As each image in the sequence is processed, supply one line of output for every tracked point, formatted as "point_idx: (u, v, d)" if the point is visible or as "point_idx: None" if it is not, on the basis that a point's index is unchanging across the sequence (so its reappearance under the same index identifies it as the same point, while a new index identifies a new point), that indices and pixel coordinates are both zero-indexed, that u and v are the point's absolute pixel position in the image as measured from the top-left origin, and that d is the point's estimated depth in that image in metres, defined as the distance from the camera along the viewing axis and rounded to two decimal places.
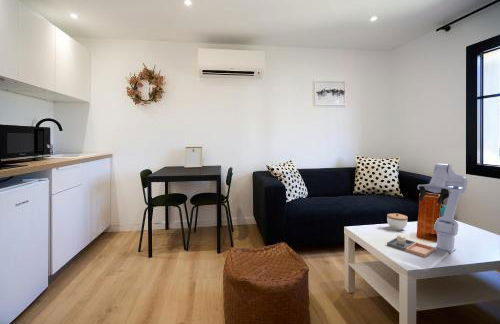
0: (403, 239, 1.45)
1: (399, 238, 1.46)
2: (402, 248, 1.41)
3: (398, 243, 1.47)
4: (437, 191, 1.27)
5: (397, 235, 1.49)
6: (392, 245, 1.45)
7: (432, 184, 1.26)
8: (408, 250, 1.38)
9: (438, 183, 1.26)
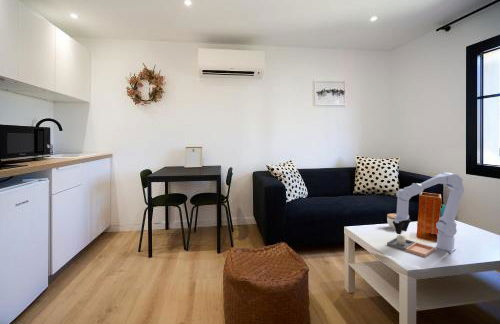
0: (403, 239, 1.45)
1: (399, 238, 1.46)
2: (402, 248, 1.41)
3: (398, 243, 1.47)
4: (404, 219, 1.45)
5: (397, 235, 1.49)
6: (392, 245, 1.45)
7: None
8: (408, 250, 1.38)
9: None
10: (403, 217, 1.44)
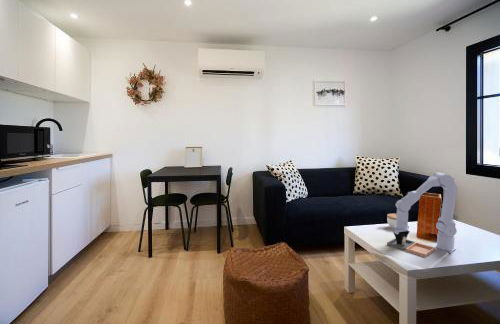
0: (403, 239, 1.45)
1: None
2: (402, 248, 1.41)
3: None
4: (404, 230, 1.45)
5: None
6: (392, 245, 1.45)
7: None
8: (408, 250, 1.38)
9: (396, 225, 1.48)
10: (403, 228, 1.44)
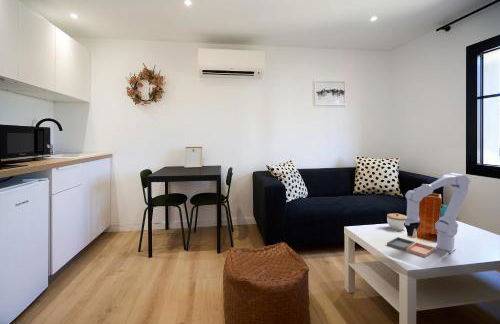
0: (414, 231, 1.41)
1: None
2: (402, 248, 1.41)
3: None
4: (415, 221, 1.40)
5: None
6: (392, 245, 1.45)
7: None
8: (408, 250, 1.38)
9: None
10: (414, 219, 1.39)
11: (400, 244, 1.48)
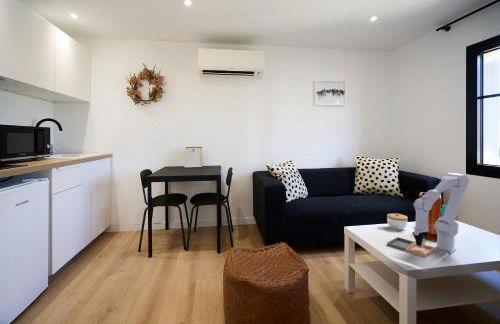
0: None
1: None
2: (402, 248, 1.41)
3: None
4: None
5: None
6: (392, 245, 1.45)
7: None
8: (408, 250, 1.38)
9: (415, 226, 1.40)
10: (423, 229, 1.36)
11: (400, 244, 1.48)
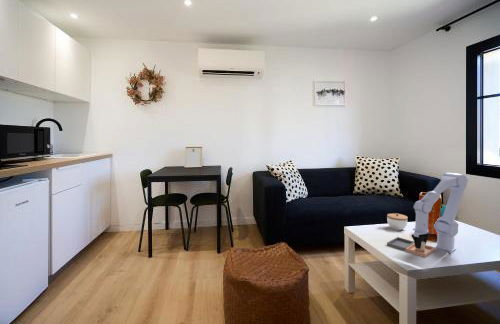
0: (422, 245, 1.37)
1: None
2: (402, 248, 1.41)
3: (417, 249, 1.39)
4: None
5: None
6: (392, 245, 1.45)
7: None
8: (408, 250, 1.38)
9: (415, 227, 1.40)
10: (423, 230, 1.36)
11: (400, 244, 1.48)
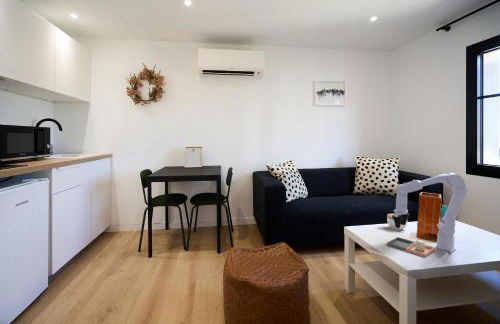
0: (422, 244, 1.38)
1: (418, 243, 1.39)
2: (402, 248, 1.41)
3: (417, 249, 1.39)
4: (403, 213, 1.49)
5: (416, 240, 1.41)
6: (392, 245, 1.45)
7: None
8: (408, 250, 1.38)
9: None
10: (402, 211, 1.48)
11: (400, 244, 1.48)
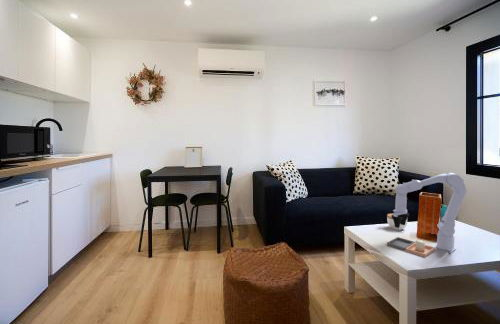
0: (422, 245, 1.37)
1: (418, 243, 1.38)
2: (402, 248, 1.41)
3: (417, 249, 1.39)
4: (402, 213, 1.50)
5: (416, 240, 1.41)
6: (392, 245, 1.45)
7: None
8: (408, 250, 1.38)
9: (395, 209, 1.52)
10: (401, 211, 1.49)
11: (400, 244, 1.48)
